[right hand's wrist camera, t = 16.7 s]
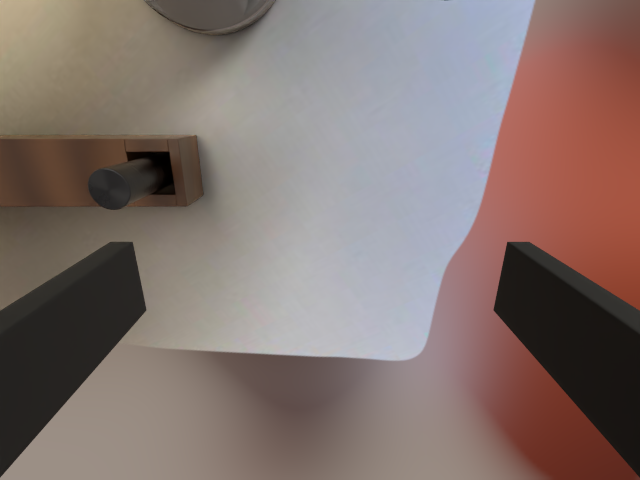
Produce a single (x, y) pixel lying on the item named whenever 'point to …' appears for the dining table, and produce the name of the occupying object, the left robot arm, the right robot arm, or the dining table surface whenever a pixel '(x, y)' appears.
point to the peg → (130, 180)
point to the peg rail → (90, 167)
